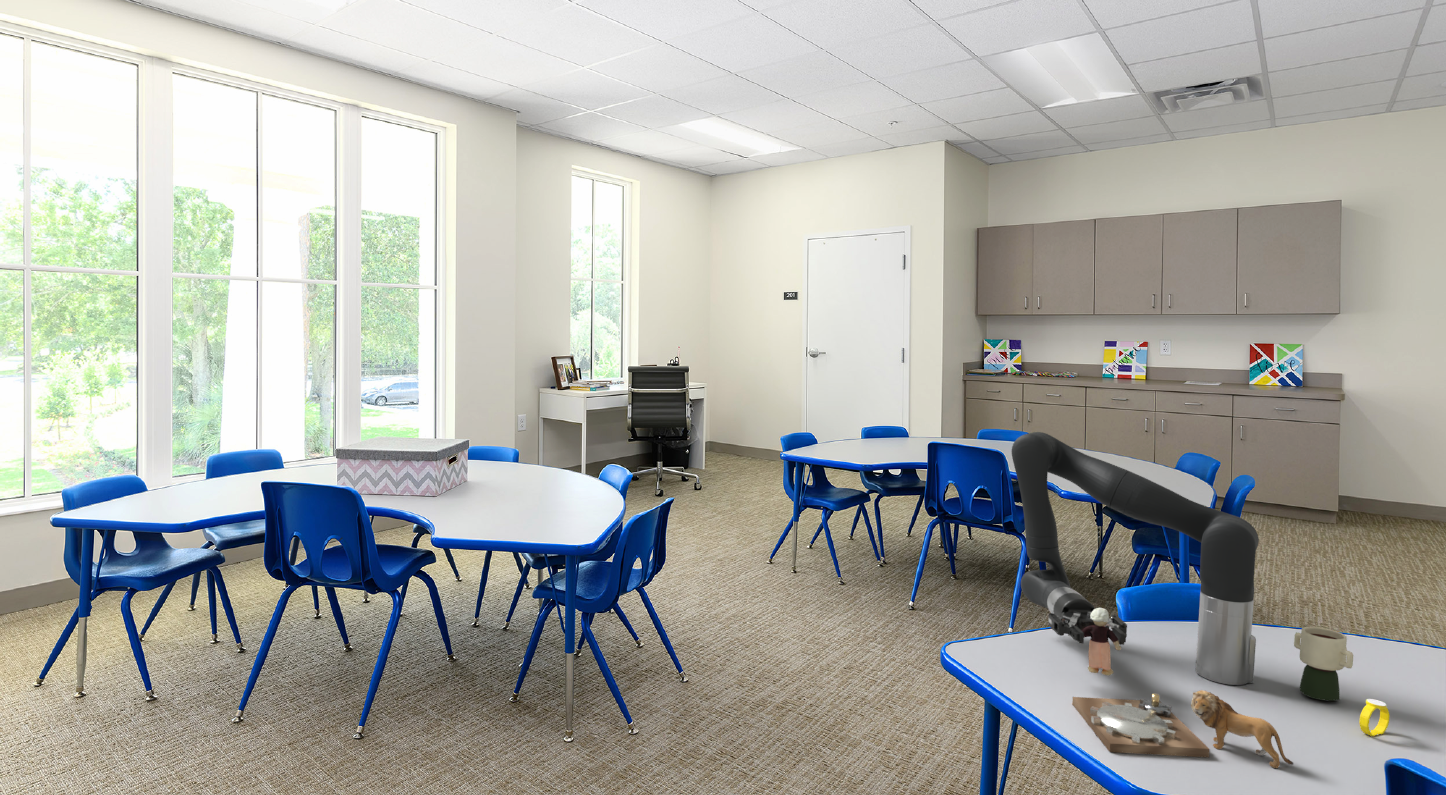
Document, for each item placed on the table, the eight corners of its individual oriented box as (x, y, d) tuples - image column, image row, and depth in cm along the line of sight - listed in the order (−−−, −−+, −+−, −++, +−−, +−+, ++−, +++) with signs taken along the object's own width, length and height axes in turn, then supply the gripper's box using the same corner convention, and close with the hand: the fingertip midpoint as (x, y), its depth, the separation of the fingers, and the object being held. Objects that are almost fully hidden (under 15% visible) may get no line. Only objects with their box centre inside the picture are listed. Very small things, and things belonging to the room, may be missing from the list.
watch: (1374, 729, 139) (1378, 697, 138) (1392, 736, 136) (1396, 704, 136) (1353, 732, 137) (1357, 699, 136) (1370, 740, 134) (1374, 706, 134)
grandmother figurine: (1117, 669, 151) (1120, 607, 150) (1120, 678, 147) (1123, 614, 146) (1074, 664, 153) (1077, 602, 152) (1076, 672, 150) (1079, 609, 149)
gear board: (1159, 708, 145) (1160, 701, 145) (1208, 757, 128) (1209, 749, 128) (1072, 704, 146) (1072, 696, 146) (1109, 752, 129) (1110, 743, 129)
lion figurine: (1186, 743, 132) (1189, 693, 132) (1191, 731, 136) (1194, 682, 136) (1292, 774, 123) (1296, 720, 123) (1293, 760, 127) (1297, 708, 127)
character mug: (1362, 708, 146) (1367, 641, 145) (1335, 712, 144) (1340, 645, 143) (1304, 683, 157) (1309, 621, 156) (1278, 687, 155) (1282, 624, 154)
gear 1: (1153, 709, 141) (1153, 704, 141) (1190, 746, 128) (1190, 740, 128) (1078, 705, 142) (1078, 700, 142) (1107, 742, 129) (1107, 736, 129)
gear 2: (1163, 704, 143) (1164, 689, 143) (1177, 718, 138) (1178, 702, 138) (1133, 703, 144) (1133, 687, 143) (1145, 716, 139) (1146, 700, 138)
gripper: (1036, 591, 164) (1064, 619, 148) (1106, 593, 163) (1141, 621, 147) (1036, 625, 165) (1063, 657, 149) (1105, 627, 164) (1140, 659, 147)
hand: (1102, 639), depth 148 cm, fingers closed on grandmother figurine, 7 cm apart
